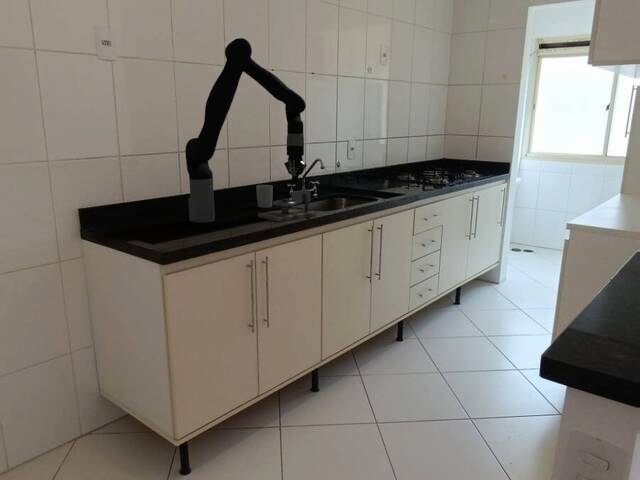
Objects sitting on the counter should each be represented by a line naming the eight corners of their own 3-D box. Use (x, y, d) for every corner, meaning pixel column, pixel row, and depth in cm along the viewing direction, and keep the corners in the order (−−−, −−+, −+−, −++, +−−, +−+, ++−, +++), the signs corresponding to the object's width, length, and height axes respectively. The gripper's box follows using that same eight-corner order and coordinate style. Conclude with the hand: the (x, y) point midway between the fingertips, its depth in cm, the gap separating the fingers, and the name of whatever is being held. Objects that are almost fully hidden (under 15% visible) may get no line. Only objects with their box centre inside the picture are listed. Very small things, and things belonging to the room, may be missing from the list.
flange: (282, 207, 203) (282, 195, 202) (268, 204, 210) (268, 192, 209) (316, 202, 214) (316, 191, 213) (301, 200, 222) (301, 189, 221)
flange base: (279, 221, 201) (279, 199, 198) (257, 216, 211) (257, 196, 209) (316, 215, 214) (316, 195, 212) (294, 211, 224) (293, 191, 222)
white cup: (261, 208, 232) (261, 187, 230) (253, 206, 239) (253, 185, 236) (276, 206, 237) (275, 186, 235) (268, 204, 243) (267, 184, 241)
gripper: (279, 144, 218) (279, 183, 221) (298, 145, 208) (298, 186, 212) (292, 144, 223) (292, 182, 226) (311, 144, 213) (311, 185, 217)
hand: (295, 184), depth 219 cm, fingers closed
